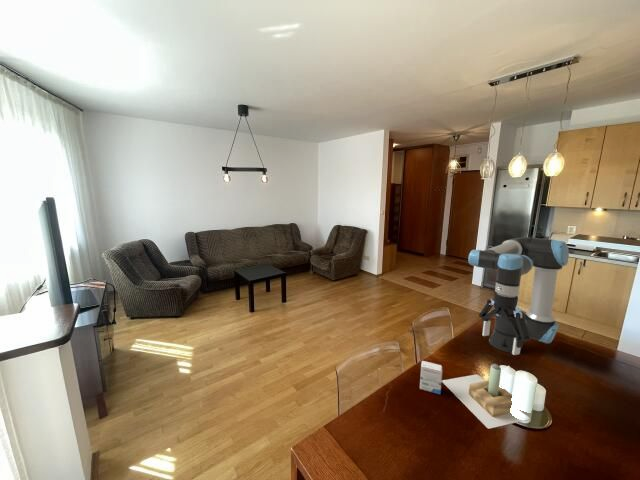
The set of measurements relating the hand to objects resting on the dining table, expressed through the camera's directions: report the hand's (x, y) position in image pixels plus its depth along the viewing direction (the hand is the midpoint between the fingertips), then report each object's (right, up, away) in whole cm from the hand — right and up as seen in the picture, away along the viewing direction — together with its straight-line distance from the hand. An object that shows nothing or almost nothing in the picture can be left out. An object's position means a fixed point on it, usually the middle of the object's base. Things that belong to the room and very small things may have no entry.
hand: (499, 344), depth 105 cm
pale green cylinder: (-1, -26, +4) cm, 26 cm away
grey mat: (-3, -26, +6) cm, 27 cm away
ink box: (-23, -25, +12) cm, 36 cm away
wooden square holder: (-1, -26, +4) cm, 26 cm away
